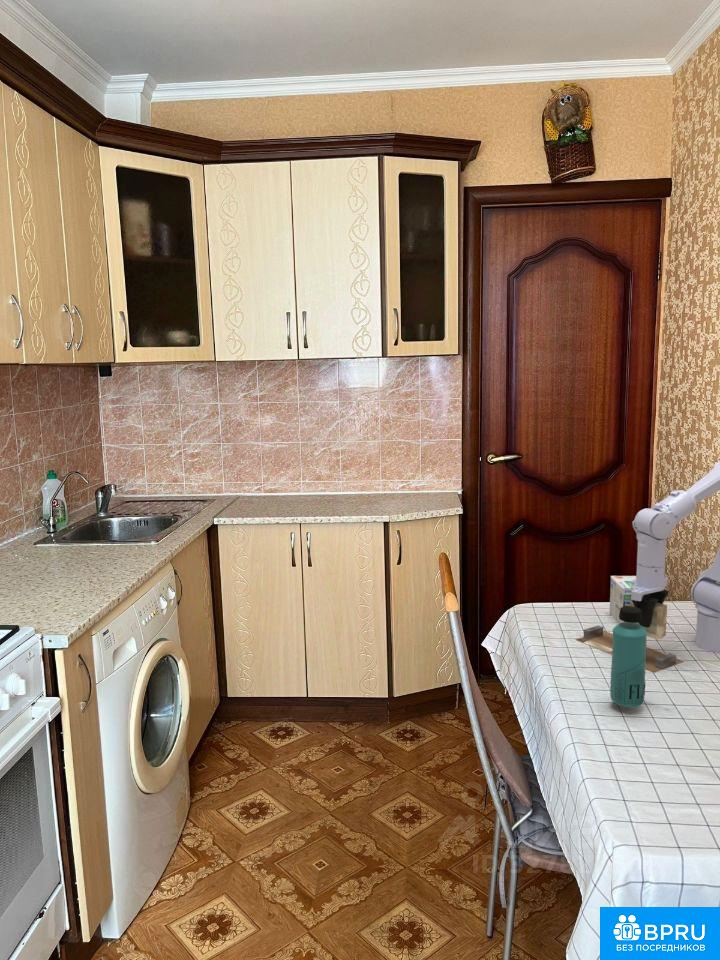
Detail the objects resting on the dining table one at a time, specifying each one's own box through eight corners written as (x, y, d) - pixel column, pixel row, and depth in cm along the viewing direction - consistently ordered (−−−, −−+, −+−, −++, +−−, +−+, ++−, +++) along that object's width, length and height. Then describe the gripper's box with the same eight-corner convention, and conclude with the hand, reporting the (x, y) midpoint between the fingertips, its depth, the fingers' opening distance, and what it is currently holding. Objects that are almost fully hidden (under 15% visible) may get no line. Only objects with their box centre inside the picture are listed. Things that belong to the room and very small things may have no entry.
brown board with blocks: (604, 633, 185) (604, 622, 185) (684, 665, 167) (684, 653, 166) (575, 642, 180) (575, 631, 179) (654, 676, 161) (654, 663, 161)
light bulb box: (649, 630, 187) (651, 588, 185) (621, 630, 187) (623, 588, 185) (634, 614, 198) (636, 574, 196) (608, 615, 198) (609, 575, 196)
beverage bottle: (627, 717, 144) (632, 616, 140) (601, 703, 150) (605, 606, 146) (652, 709, 147) (657, 610, 143) (625, 696, 153) (630, 600, 149)
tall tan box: (634, 628, 172) (635, 598, 170) (665, 635, 167) (667, 604, 166) (628, 631, 169) (629, 601, 168) (660, 639, 165) (661, 608, 163)
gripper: (646, 553, 173) (644, 611, 175) (618, 568, 163) (615, 628, 165) (678, 559, 168) (675, 618, 171) (650, 574, 158) (647, 636, 160)
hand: (648, 623), depth 168 cm, fingers closed on tall tan box, 3 cm apart
